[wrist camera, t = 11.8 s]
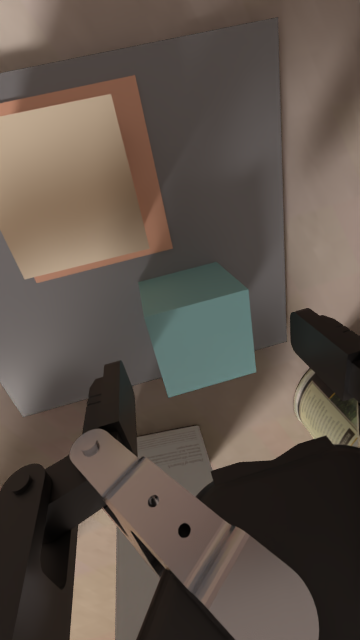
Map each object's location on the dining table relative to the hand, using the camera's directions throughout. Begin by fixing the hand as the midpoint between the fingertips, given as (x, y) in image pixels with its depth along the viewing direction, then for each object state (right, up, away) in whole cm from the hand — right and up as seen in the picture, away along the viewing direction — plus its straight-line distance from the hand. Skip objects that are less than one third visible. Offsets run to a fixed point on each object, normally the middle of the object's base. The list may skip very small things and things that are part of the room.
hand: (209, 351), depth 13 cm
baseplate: (-5, +5, +4) cm, 8 cm away
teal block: (-1, +2, +6) cm, 6 cm away
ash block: (-6, +8, +1) cm, 10 cm away
